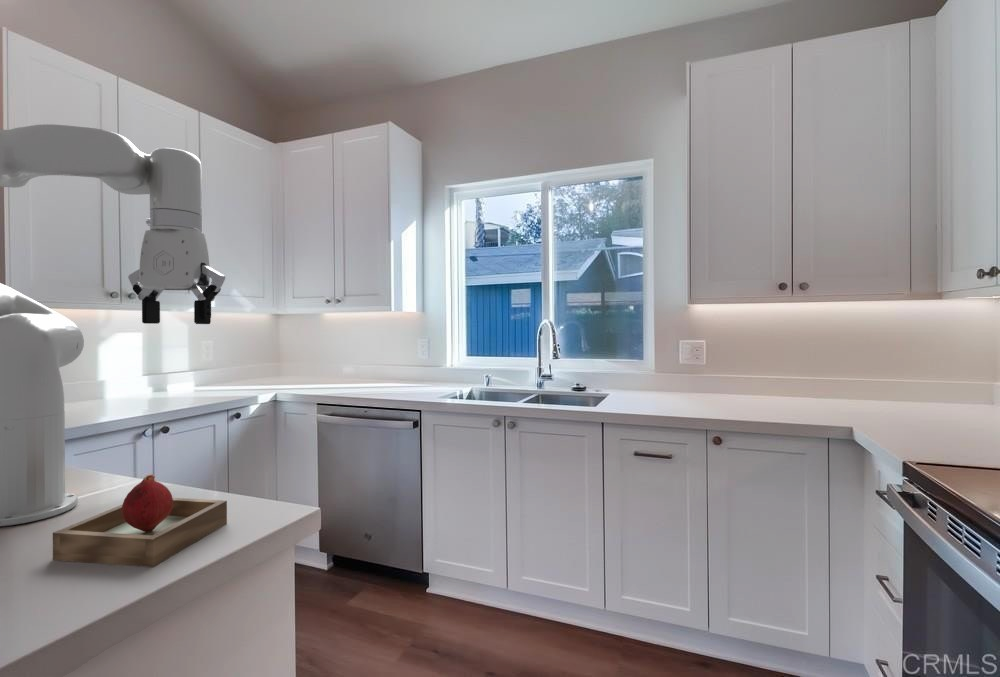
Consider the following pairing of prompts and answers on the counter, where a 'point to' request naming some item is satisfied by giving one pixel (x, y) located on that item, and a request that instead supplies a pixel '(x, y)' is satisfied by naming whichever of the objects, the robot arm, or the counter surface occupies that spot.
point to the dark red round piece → (147, 504)
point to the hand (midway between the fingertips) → (176, 323)
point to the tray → (138, 535)
